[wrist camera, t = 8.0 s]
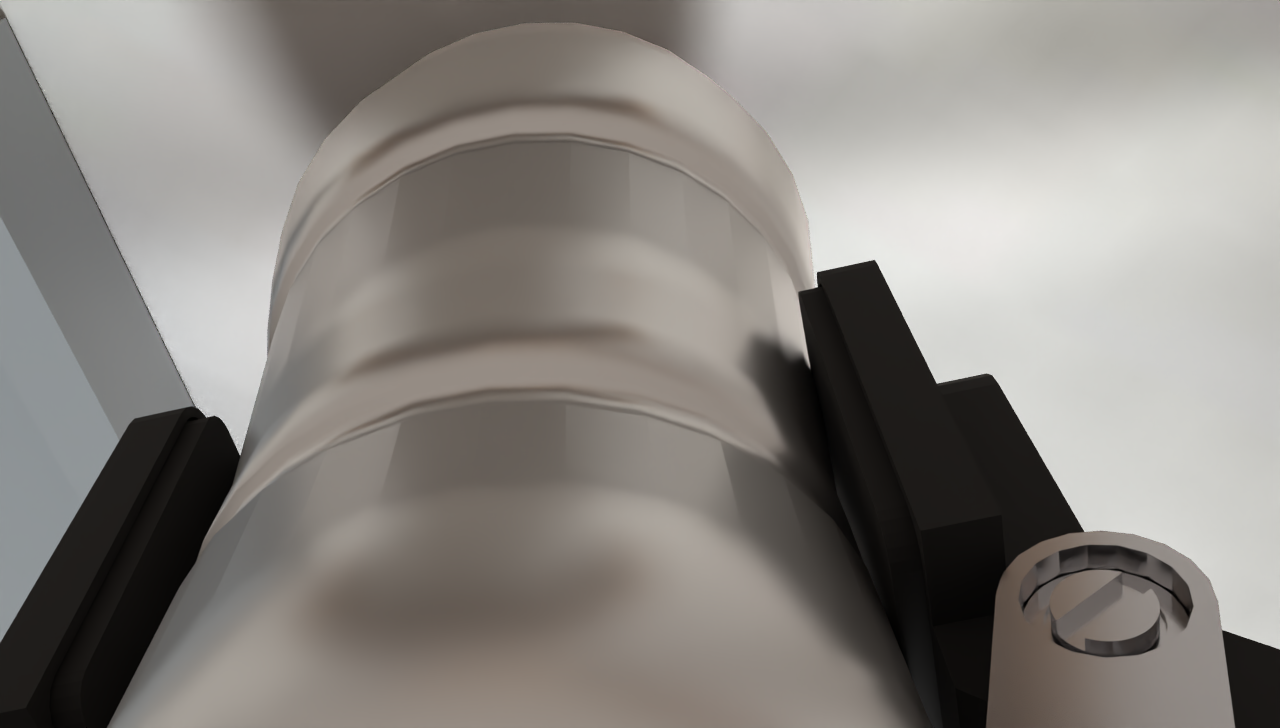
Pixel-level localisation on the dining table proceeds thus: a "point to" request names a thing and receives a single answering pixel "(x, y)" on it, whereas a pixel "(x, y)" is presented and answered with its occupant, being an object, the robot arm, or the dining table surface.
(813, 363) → the robot arm
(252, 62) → the dining table surface
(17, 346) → the grey square tray
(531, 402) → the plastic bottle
